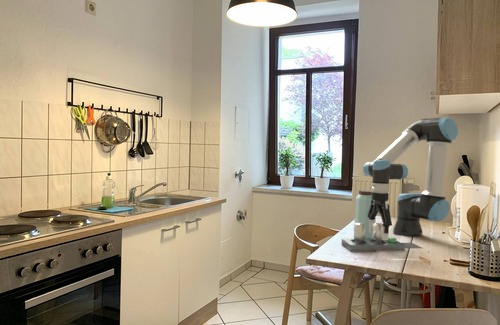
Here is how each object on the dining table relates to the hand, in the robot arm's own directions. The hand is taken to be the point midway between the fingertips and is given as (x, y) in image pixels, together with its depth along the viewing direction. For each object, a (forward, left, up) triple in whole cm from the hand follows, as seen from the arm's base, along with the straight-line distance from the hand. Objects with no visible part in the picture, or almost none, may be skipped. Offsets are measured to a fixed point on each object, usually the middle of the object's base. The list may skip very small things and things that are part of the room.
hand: (378, 236), depth 174 cm
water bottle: (-1, -19, -6) cm, 20 cm away
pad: (-16, -2, -6) cm, 17 cm away
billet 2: (0, 0, -4) cm, 4 cm away
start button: (-7, 0, -3) cm, 7 cm away
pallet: (+3, 0, -6) cm, 6 cm away
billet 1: (+10, 0, -4) cm, 10 cm away
